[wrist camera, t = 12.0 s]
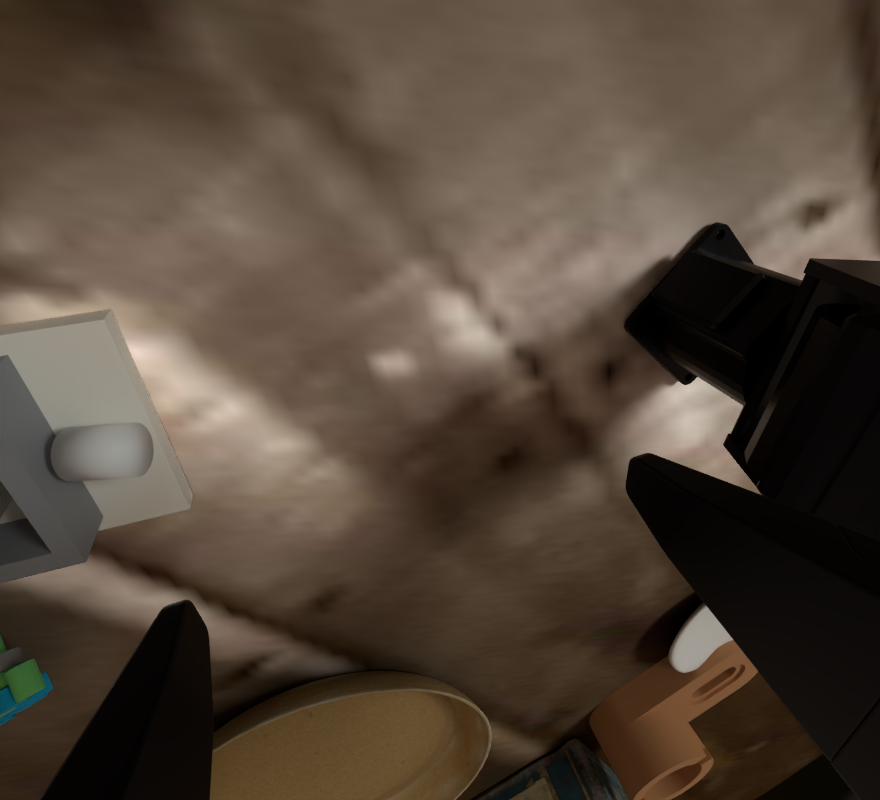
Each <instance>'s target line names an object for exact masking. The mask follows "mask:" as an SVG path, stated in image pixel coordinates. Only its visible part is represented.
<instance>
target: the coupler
mask: <svg viewBox="0 0 880 800" xmlns="http://www.w3.org/2000/svg"><path fill="white" fill-rule="evenodd" d="M12 500H13V498H12V496H11V495H10V493H9V492H8V491H7V489H6V488H5V486H4V485H3V484H2V482H1V481H0V518H1V516H2V515H3V513H4V512H5V510H6V509H7V507H8V506H9V504H10V503H11V501H12Z"/></svg>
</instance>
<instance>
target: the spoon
mask: <svg viewBox="0 0 880 800" xmlns="http://www.w3.org/2000/svg"><path fill="white" fill-rule="evenodd" d="M732 640H733V639H732V638H731V636H730V635H729V634H728V633H727V631H726V630H725V629H724V627H723V626H722V625H721V624H720V622H719V621H718V620H717V619H716V617H715V616H714V615H713V614H712V612H711V611H710V610H709V609H708V607H707V606H706V605H705V603H702V604H701V605H700V606H699V607H698V608H697V609H696V610H695V611H694V612H693V613H692V614H691V615H690V616H689V617H688V619H687V620H686V621H685V623H684V624H683V625H682V627H681V628H680V630H679V632H678V633H677V635H676V637H675V639H674V641H673V643H672V645H671V647H670V650H669V655H668V659H669V662H670V664H671V665H672V667H673V668H674V669H675V670H677V671H679V672H682V673H687V672H691V671H694V670H696V669H698V668H699V667H700V666H701V665H702V664H703V663H704V662H705V661H706V659H707V658H708V657H709V656H710V655H711V654H712V653H713V652H714V651H715V650H716V649H717V648H718V647H720V646H721V645H723V644H724V643H726V642H729V641H732Z"/></svg>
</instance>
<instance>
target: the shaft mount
mask: <svg viewBox="0 0 880 800" xmlns="http://www.w3.org/2000/svg"><path fill="white" fill-rule="evenodd" d="M0 481H1V482H2V484H3V485H4V486H5V488H6V489H7V491H8V492H9V493H10V495H11V496H12V498H13V500H12V501H11V503H10V504H9V506H8V507H7V509H6V510H5V512H4V513H3V515H2V516H1V518H0V583H3V582H7V581H11V580H15V579H19V578H23V577H27V576H31V575H36V574H40V573H44V572H48V571H52V570H56V569H60V568H64V567H68V566H72V565H76V564H80V563H84V562H86V561H87V558H88V555H89V553H90V550H91V548H92V545H93V542H94V540H95V537H96V535H97V532H98V531H101V530H105V529H109V528H113V527H117V526H122V525H126V524H130V523H134V522H138V521H143V520H147V519H151V518H155V517H159V516H164V515H168V514H172V513H176V512H180V511H185V510H189V509H190V507H191V502H192V496H193V494H192V491H191V489H190V487H189V485H188V482H187V480H186V478H185V476H184V473H183V471H182V469H181V467H180V464H179V462H178V460H177V457H176V455H175V453H174V451H173V448H172V446H171V444H170V442H169V439H168V437H167V435H166V433H165V430H164V428H163V426H162V424H161V421H160V419H159V417H158V414H157V412H156V410H155V408H154V405H153V403H152V401H151V399H150V396H149V394H148V392H147V390H146V387H145V385H144V383H143V381H142V378H141V376H140V374H139V372H138V369H137V367H136V365H135V362H134V360H133V358H132V356H131V353H130V351H129V349H128V347H127V344H126V342H125V340H124V338H123V335H122V333H121V331H120V329H119V326H118V324H117V322H116V319H115V317H114V315H113V313H112V310H104V311H98V312H91V313H84V314H78V315H71V316H64V317H58V318H51V319H44V320H38V321H31V322H25V323H18V324H11V325H5V326H0Z"/></svg>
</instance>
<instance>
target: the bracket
mask: <svg viewBox="0 0 880 800" xmlns="http://www.w3.org/2000/svg"><path fill="white" fill-rule="evenodd" d="M757 672H758V670H757V669H756V668H755V667H754V665H753V664H752V663H751V662H750V660H749V659H748V658H747V657H746V655H745V654H744V653H743V651H742V650H741V649H740V648H739V646H738V645H737V644H736V643H735V641H734V640H732V641H729V642H726V643H724V644H723V645H721V646H720V647H718V648H717V649H716V650H715V651H714V652H713V653H712V654H711V655H710V656H709V657H708V658H707V659H706V661H705V662H704V663H703V664H702V665H701V666H700V667H699V668H698V669H696V670H694V671H691V672H687V673H682V672H679V671H677V670H675V669H674V668H673V667H672V665H671V664H670V662H669V659H668V656H667V657H665V658H664V659H662V660H661V661H659V662H658V663H656V664H655V665H654V666H652V667H651V668H649V669H648V670H646V671H645V672H643V673H642V674H640V675H639V676H637V677H636V678H635V679H633V680H632V681H630V682H629V683H627V684H626V685H624V686H623V687H621V688H620V689H619V690H617V691H616V692H614V693H613V694H611V695H610V696H609V697H607V698H606V699H605V700H604V701H602V702H601V703H600V704H599V705H598V706H597V707H596V709H595V710H594V711H593V713H592V715H591V717H590V720H589V724H590V727H591V729H592V730H593V732H594V734H595V736H596V738H597V740H598V742H599V744H600V746H601V748H602V750H603V751H604V753H605V755H606V757H607V759H608V761H609V763H610V765H611V767H612V769H613V771H614V772H615V774H616V776H617V778H618V780H619V782H620V784H621V786H622V788H623V790H624V792H625V793H626V795H627V797H628V799H629V800H671V799H673V798H675V797H676V796H678V795H680V794H681V793H683V792H685V791H686V790H688V789H689V788H691V787H692V786H693V785H695V784H696V783H697V782H698V781H699V780H701V779H702V778H703V777H704V776H705V775H706V774H707V773H708V771H709V770H710V769H711V767H712V765H713V758H712V757H711V755H710V754H709V752H708V751H707V749H706V748H705V747H704V745H703V744H702V742H701V741H700V739H699V738H698V736H697V735H696V733H695V732H694V731H693V729H692V728H691V726H690V725H689V723H688V722H690V721H691V720H693V719H694V718H696V717H697V716H699V715H700V714H702V713H703V712H705V711H706V710H708V709H709V708H710V707H712V706H713V705H715V704H716V703H718V702H719V701H721V700H722V699H724V698H725V697H727V696H728V695H730V694H731V693H733V692H734V691H736V690H737V689H739V688H740V687H742V686H743V685H744V684H746V683H747V682H748V681H749V680H750V679H751V678H752V677H753V676H755V674H756V673H757Z"/></svg>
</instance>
